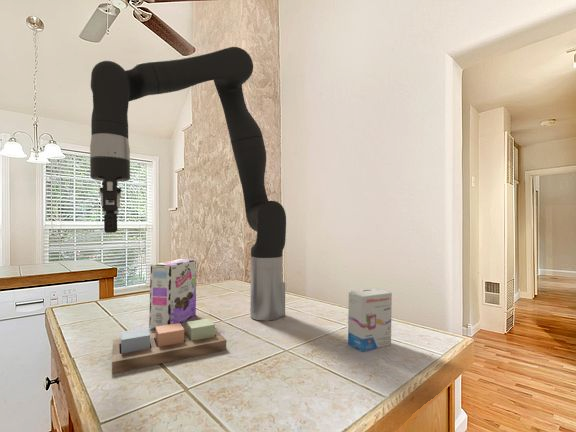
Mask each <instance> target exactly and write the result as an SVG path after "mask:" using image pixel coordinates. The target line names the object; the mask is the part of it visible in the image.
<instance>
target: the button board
mask: <svg viewBox="0 0 576 432" xmlns="http://www.w3.org/2000/svg"><path fill="white" fill-rule="evenodd" d="M183 329H184V342H182V343H177V344H171V345H166V346H161V347H157V344H156V341H155V332H153V333H150V349H144V350H139V351H133V352H128V353H122V354H121V338H116V339H112V348H111V349H112V351H111V352H112V355H111V357H112V358H111V374H116V373H120V372H121V373H122V372H125V371H130V370H136V369H139V368H145V367H149V366H155V365H159V364H163V363H168V362H169V363H170V362H173V361H180V360H183V359H189V358H194V357H197V356H202V355H203V356H204V355H207V354H211V353H216V352H217V353H218V352H221V351H226V350H227V339H226V338H225V337H224V336H223V335H222V333H220V332H219V330H218V329H216V328H215V337H210V338H204V339H199V340H193V341H190V340H189V338H188V337H187V327H183Z"/></svg>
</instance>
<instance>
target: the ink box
mask: <svg viewBox="0 0 576 432" xmlns="http://www.w3.org/2000/svg"><path fill="white" fill-rule="evenodd" d="M392 295H393V294H392V292H389V291H386V290H383V289H381V288H377V287H375V288H374V287H373V288H363V289H353V290H350V291H349V292H348V314H347V315H348V319H347V320H348V321H347V326H348V327H347V344H348V345H350V346H351V347H354V348H355V349H356V350H358V351H361V352H362V353H363V352H367V351H371V350H376V349H379V348H383V347H388V346H391V345H392V311H393V310H392V306H393V305H392V301H393V298H392V297H393V296H392Z"/></svg>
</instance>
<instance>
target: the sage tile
mask: <svg viewBox="0 0 576 432" xmlns="http://www.w3.org/2000/svg"><path fill="white" fill-rule="evenodd" d="M215 326H216V324H215V323H214V322H213V321H212V320H211V319H210V318H203V319H197V320H191V321H186V328H187V337H188V338H189V340H190V341H193V340H199V339H204V338H210V337H215V329H216V327H215Z"/></svg>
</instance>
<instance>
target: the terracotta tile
mask: <svg viewBox="0 0 576 432" xmlns="http://www.w3.org/2000/svg"><path fill="white" fill-rule="evenodd" d="M183 328H184V326H182V323H181V324H180V323H175V324H169V325H162V326H156V329H155V332H154V333H155V341H156V344H157V347H161V346H166V345H171V344H177V343H182V342H184V329H183Z"/></svg>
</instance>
